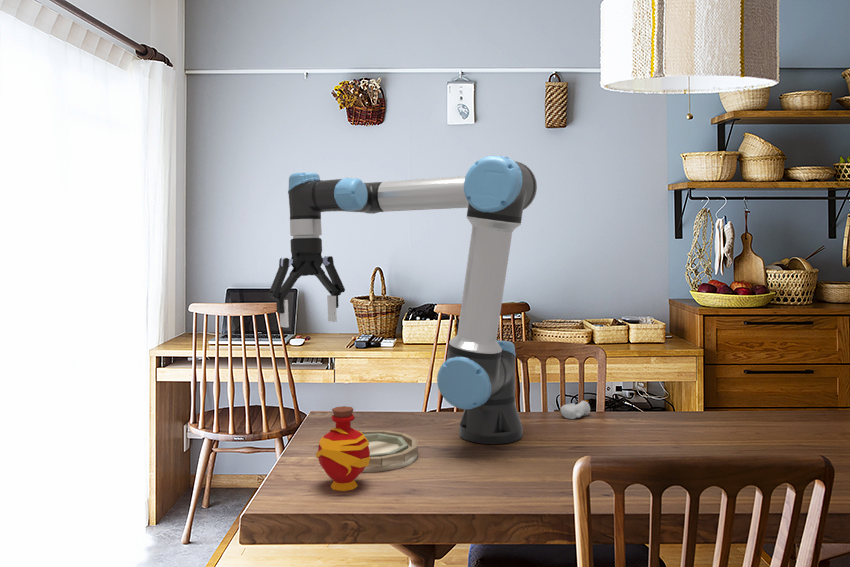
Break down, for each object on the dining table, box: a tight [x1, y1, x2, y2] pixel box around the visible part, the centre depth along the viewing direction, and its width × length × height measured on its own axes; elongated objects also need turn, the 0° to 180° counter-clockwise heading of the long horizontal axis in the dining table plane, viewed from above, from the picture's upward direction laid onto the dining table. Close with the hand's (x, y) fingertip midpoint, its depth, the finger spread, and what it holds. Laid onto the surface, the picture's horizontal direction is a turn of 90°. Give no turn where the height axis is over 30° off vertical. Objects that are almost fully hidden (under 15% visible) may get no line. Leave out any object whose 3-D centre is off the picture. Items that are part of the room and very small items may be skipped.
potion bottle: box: [315, 406, 370, 492], centre depth 126 cm, size 10×10×15 cm
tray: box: [359, 429, 419, 473], centre depth 144 cm, size 20×20×3 cm
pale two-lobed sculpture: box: [560, 400, 591, 420], centre depth 173 cm, size 4×8×5 cm
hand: (309, 324), depth 162 cm, fingers open, 13 cm apart
